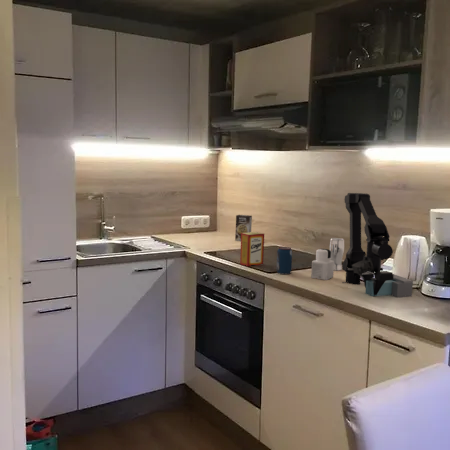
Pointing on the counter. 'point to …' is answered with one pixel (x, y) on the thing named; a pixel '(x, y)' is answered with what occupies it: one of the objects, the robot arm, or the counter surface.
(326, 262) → the container
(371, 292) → the teal rectangular block
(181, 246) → the counter surface
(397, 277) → the header
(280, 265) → the soda can
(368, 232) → the robot arm
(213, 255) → the counter surface
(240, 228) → the coffee box
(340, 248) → the beer glass
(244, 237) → the baking soda box
